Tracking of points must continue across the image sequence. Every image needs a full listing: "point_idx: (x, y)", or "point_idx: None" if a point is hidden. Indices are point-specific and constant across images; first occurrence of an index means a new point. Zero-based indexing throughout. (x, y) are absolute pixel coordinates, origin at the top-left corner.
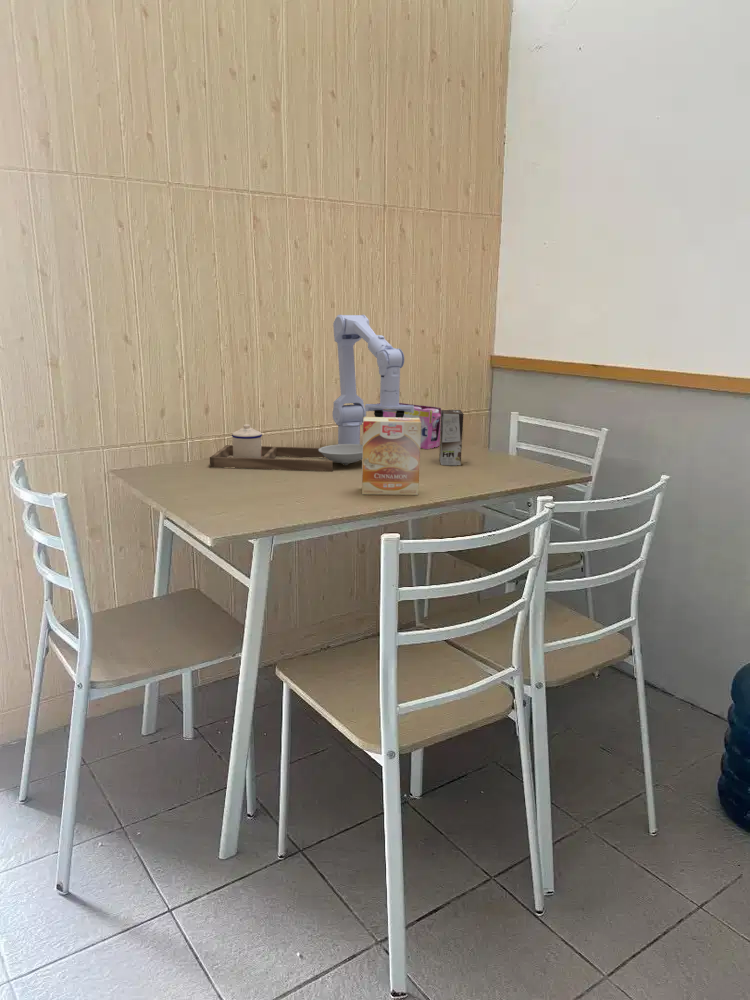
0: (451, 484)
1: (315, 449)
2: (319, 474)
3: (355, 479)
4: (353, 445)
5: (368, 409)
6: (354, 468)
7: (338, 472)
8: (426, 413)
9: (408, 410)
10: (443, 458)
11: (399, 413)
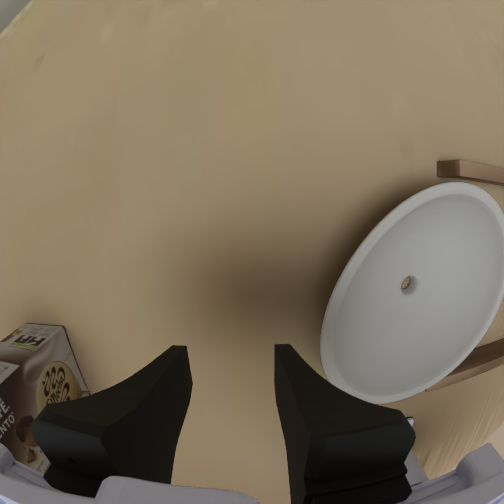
0: (34, 71)
1: (483, 362)
2: (458, 119)
3: (341, 46)
4: (395, 391)
5: (472, 469)
6: (372, 223)
7: (417, 148)
8: None
9: (20, 475)
10: (46, 335)
11: (68, 445)
